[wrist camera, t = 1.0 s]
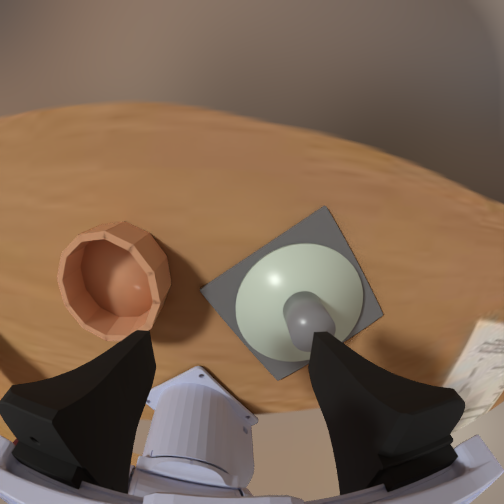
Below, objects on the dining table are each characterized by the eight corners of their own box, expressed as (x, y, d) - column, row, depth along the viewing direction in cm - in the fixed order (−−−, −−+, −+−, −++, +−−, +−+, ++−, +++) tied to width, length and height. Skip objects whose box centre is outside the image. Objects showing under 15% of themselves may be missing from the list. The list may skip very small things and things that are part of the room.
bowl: (191, 286, 21) (183, 307, 17) (122, 333, 22) (108, 356, 18) (127, 200, 19) (106, 206, 15) (64, 260, 20) (42, 274, 16)
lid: (376, 314, 22) (399, 338, 18) (279, 375, 23) (286, 407, 19) (323, 215, 19) (344, 226, 15) (209, 292, 21) (202, 318, 17)
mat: (381, 312, 22) (383, 314, 22) (277, 378, 24) (277, 380, 23) (324, 205, 20) (326, 206, 19) (200, 288, 21) (199, 290, 20)
